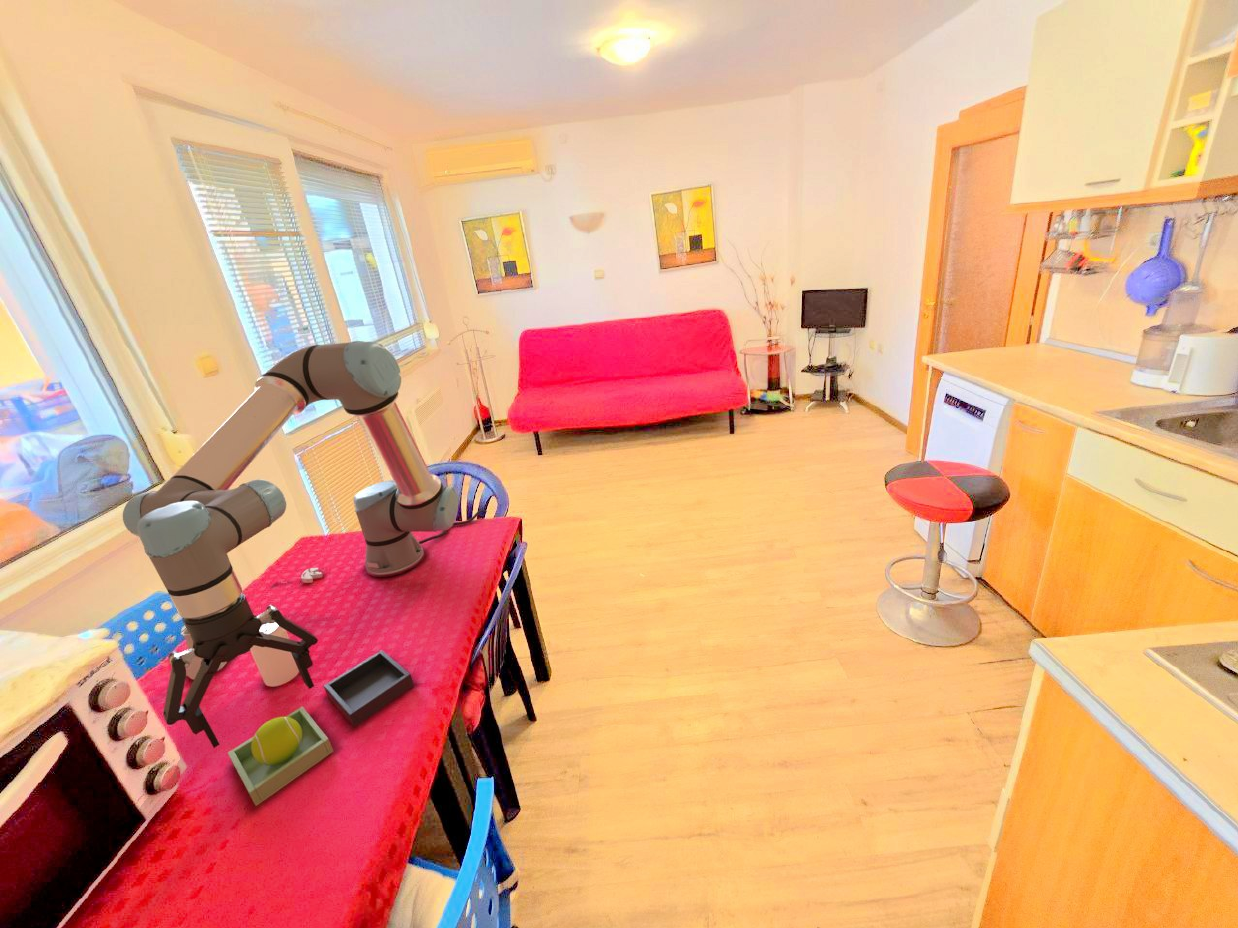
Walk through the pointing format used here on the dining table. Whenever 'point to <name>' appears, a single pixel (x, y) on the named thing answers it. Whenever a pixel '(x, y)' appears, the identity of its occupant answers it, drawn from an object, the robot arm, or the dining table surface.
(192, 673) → the flask
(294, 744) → the tennis ball
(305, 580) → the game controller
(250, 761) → the green tray
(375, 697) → the charcoal tray
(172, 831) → the dining table surface
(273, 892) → the dining table surface
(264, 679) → the can
